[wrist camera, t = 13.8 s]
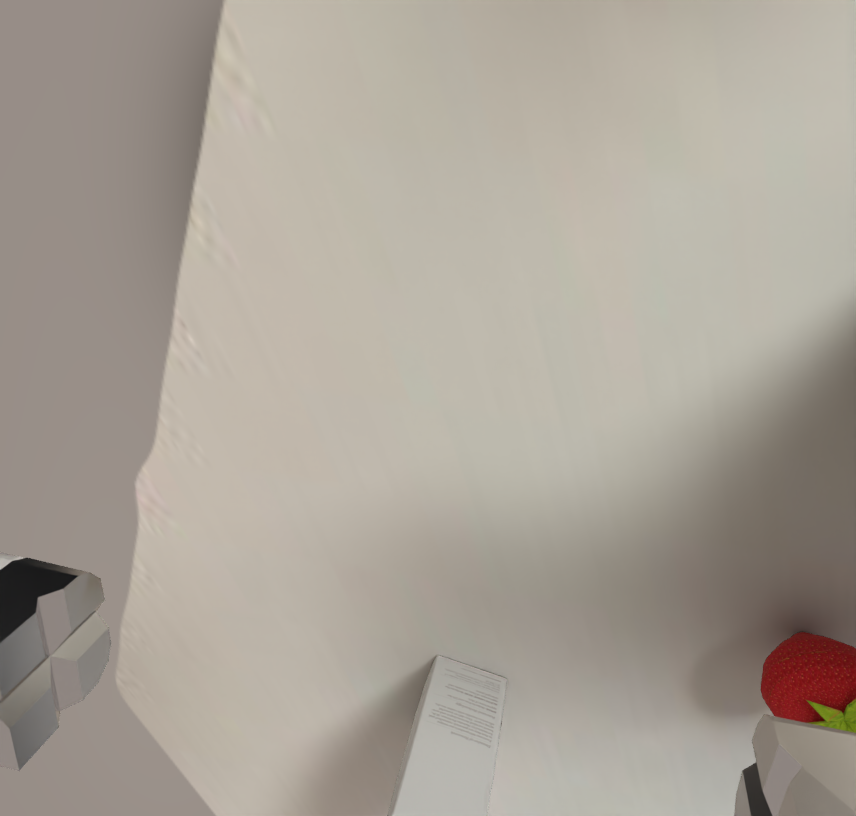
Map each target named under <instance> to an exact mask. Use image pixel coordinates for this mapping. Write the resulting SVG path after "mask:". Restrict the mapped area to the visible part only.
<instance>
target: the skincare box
mask: <svg viewBox="0 0 856 816" xmlns="http://www.w3.org/2000/svg"><path fill="white" fill-rule="evenodd" d="M506 689H507V679H505V678H504V677H501V676H498V675H495V674H492V673H489V672H486V671H483V670H480V669H477V668H475V667H472V666H469V665H466V664H463V663H460V662H458V661H454V660H451V659H448V658H446V657H442V656H439V655H437V656H436V658H435V660H434V662H433V665H432V667H431V670H430V672H429V675H428V678H427V680H426V683H425V686H424V689H423V692H422V695H421V698H420V701H419V704H418V707H417V711H416V714H415V717H414V721H413V724H412V728H411V731H410V735H409V738H408V742H407V745H406V749H405V752H404V756H403V760H402V763H401V767H400V770H399V774H398V778H397V781H396V785H395V789H394V792H393V796H392V800H391V804H390V807H389V811H388V815H387V816H488V808H489V800H490V794H491V789H492V784H493V778H494V771H495V765H496V758H497V751H498V744H499V737H500V730H501V724H502V716H503V710H504V703H505V696H506Z"/></svg>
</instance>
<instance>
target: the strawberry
mask: <svg viewBox="0 0 856 816" xmlns="http://www.w3.org/2000/svg"><path fill="white" fill-rule="evenodd" d="M761 693H762V697H763V699H764V700H765V702H766V704H767V705H768V707H769V708H770V710H771V711H772V713H773V714H774V716H775V717H780V718H785V719H790V720H795V721H800V722H805V723H810V724H815V725H819V726H824V727H829V728H834V729H839V730H844V731H849V732H854V733H856V648H854V647H852V646H850V645H847V644H844V643H841V642H839V641H836V640H833V639H830V638H827V637H824V636H819V635H813V634H810V633H806V632H800V633H796V634H794V635H793V636H792V637H791V638H789V639H787V640H785V641H784V642H782V643H781V644H780V645H779V646H778V647H777V648H776V649H775V650H774V651H773V652H772V653H771V654H770V655H769V656H768V657H767V659H766V660H765V663H764V665H763V673H762V682H761Z"/></svg>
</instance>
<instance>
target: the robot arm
mask: <svg viewBox="0 0 856 816" xmlns="http://www.w3.org/2000/svg"><path fill="white" fill-rule="evenodd" d="M104 599H105V598H104V594H103V589H102V584H101V579H100V578H98V577H97V576H95V575H93V574H92V573H89V572H85V571H81V570H77V569H73V568H68V567H64V566H60V565H56V564H52V563H47V562H43V561H39V560H35V559H31V558H22V557H19V556H14V555H10V554H6V553H2V552H0V766H1V767H6V768H10V769H14V770H18V771H19V770H20V769H21V768H22V767H23V766H24V765H25V764H26V763H27V762H28V760H29V759H30V758H31V757H32V756H33V755H34V754H35V753H36V752H37V751H38V749H39V748H40V747H41V746H42V745H43V744H44V743H45V742H46V741H47V739H48V738H49V737H50V736H51V735H52V734H53V733H54V732H55V731H56V730H57V729H58V727H59V717H60V711H61V710H63V709H65V708H67V707H70V706H72V705H74V704H76V703H78V702H80V701H82V700H84V699H85V697H86V696H87V695H88V694H89V692H91V690H92V689H93V688H94V687H95V686H96V684H97V683H98V682H99V680H100V677H101V675H102V673H103V671H104V669H105V667H106V665H107V663H108V660H109V653H110V646H111V640H110V632H109V627H108V626H107V624H106V623H105V622H104V620H103V619H102V618H101V616H100V615H99V614H98V612H97V610H98V608H99V607H100V606H101V604H102V603H103V601H104ZM752 743H753V748H754V752H755V757H756V763H754V764H753V765H751V766H749V767H748V768H746V769H744V770H743V771H742V774H741V778H740V782H739V785H738V789H737V793H736V802H735V813H734V816H856V733H854V732H849V731H844V730H839V729H834V728H829V727H824V726H819V725H815V724H810V723H805V722H800V721H795V720H790V719H785V718H780V717H775V716H770V715H765V714H764V716H763V717H762V718H761V720H760V721H759V722H758V724H757V727H756V730H755V733H754V736H753V739H752Z"/></svg>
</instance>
